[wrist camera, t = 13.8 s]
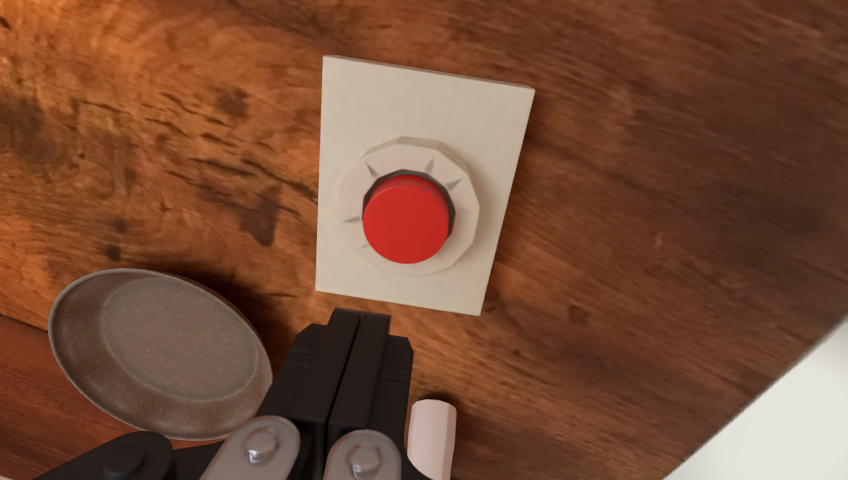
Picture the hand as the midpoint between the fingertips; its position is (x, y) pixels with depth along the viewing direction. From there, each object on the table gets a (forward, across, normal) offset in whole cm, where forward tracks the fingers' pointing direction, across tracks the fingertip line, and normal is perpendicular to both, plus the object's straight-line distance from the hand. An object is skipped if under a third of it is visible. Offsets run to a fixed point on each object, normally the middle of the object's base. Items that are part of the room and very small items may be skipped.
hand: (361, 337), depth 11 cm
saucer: (+14, +15, +14) cm, 25 cm away
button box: (+14, 0, 0) cm, 14 cm away
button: (+10, 0, 0) cm, 10 cm away
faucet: (+14, -4, +24) cm, 28 cm away
